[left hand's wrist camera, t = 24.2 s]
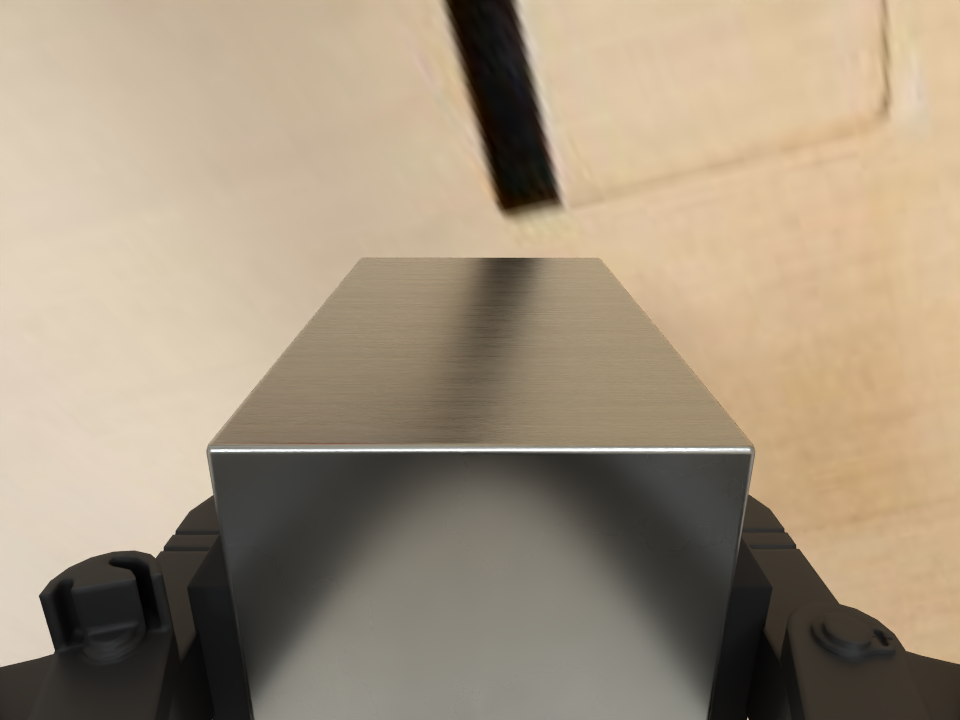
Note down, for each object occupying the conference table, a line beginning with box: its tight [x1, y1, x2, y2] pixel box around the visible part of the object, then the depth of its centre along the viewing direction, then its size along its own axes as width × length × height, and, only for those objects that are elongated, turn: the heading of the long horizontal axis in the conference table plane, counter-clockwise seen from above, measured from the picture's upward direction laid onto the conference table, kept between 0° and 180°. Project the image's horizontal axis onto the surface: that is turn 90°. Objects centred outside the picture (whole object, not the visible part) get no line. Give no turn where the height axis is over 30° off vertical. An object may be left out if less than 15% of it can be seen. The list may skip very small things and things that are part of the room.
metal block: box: [207, 258, 755, 720], centre depth 12 cm, size 7×6×9 cm
